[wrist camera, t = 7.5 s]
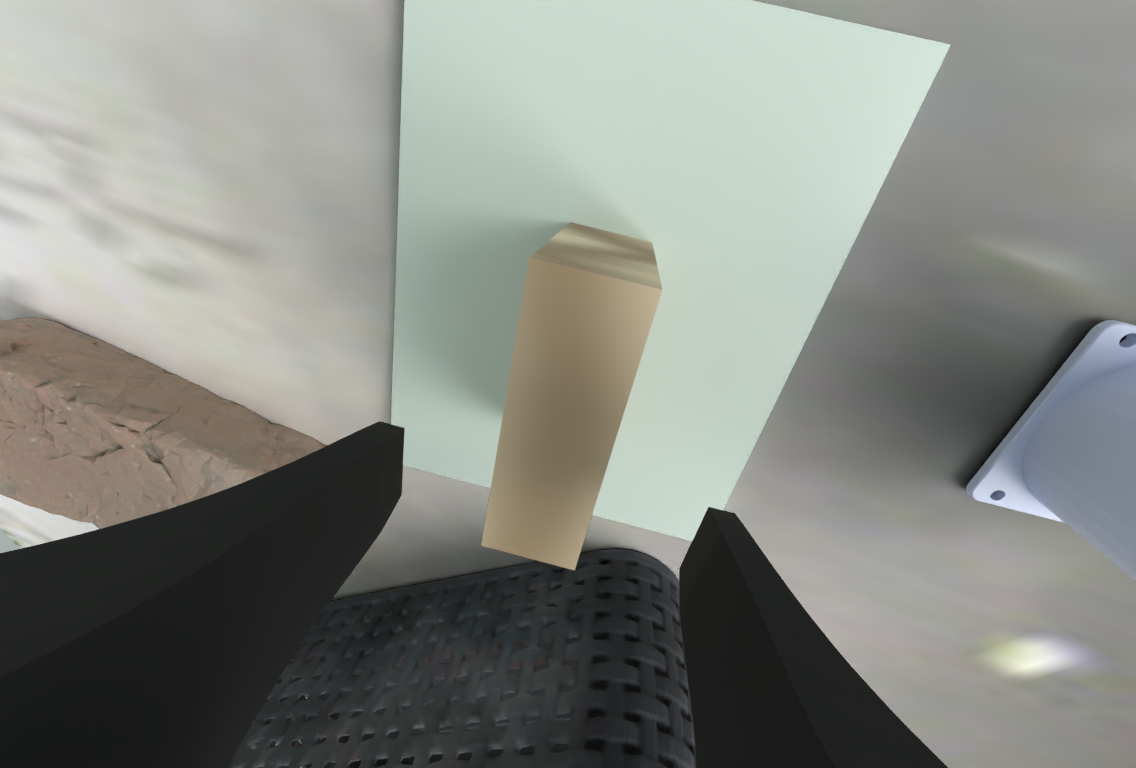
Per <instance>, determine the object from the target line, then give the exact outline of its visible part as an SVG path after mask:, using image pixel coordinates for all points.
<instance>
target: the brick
mask: <svg viewBox="0 0 1136 768" xmlns="http://www.w3.org/2000/svg"><path fill="white" fill-rule="evenodd" d="M324 447H326V446H325V445H323V444H321V443H320V442H318V441H317V440H315V439H314V438H311V437H309V436H307V435H304V434H302V433H300V432H297V431H295V430H293V429H290V428H288V427H285V426H281V425H276V424H271V423H270V421H268V420H266V419H264V418H262V417H261V416H259V415H258V414H256V413H254V412H253V411H251V410H249V409H247V408H246V407H244V406H242V405H237V404H235V403H233V402H232V401H229V400H226V399H223V398H220V397H218V396H217V395H214V394H212V393H211V392H210V391H208V390H207V389H205V388H204V387H201V386H199V385H196V384H194V383H191V382H189V381H187V380H185V379H183V378H181V377H179V376H177V375H173V374H168V373H166V372H165V371H164V370H163V369H162V368H160V367H158V366H156V365H154V364H152V363H150V362H147V361H145V360H143V359H140V358H138V357H135V356H134V355H132V354H130V353H128V352H126V351H124V350H121V349H119V348H117V347H115V346H112V345H110V344H108V343H106V342H104V341H102V340H100V339H97V338H94V337H90V336H88V335H86V334H84V333H82V332H78V331H75V330H71V329H69V328H67V327H65V326H64V325H62V324H59V323H56V322H53V321H50V320H47V319H38V318H18V319H14V320H6V321H1V322H0V494H1V495H4V496H7V497H9V498H12V499H14V500H17V501H20V502H22V503H23V504H26V505H30V506H33V507H36V508H40V509H42V510H45V511H47V512H49V513H51V514H57V515H62V516H65V517H67V518H70V519H73V520H77V521H81V522H90V523H93V524H95V525H96V526H97V527H98V528H99V529H102V528H105V527H109V526H112V525H116V524H119V523H123V522H126V521H130V520H133V519H137V518H140V517H144V516H147V515H151V514H154V513H158V512H161V511H164V510H167V509H170V508H173V507H176V506H179V505H182V504H185V503H188V502H191V501H194V500H197V499H200V498H203V497H206V496H209V495H211V494H214V493H217V492H220V491H222V490H225V489H228V488H230V487H233V486H236V485H238V484H241V483H243V482H245V481H248V480H250V479H253V478H255V477H257V476H260V475H262V474H265V473H267V472H269V471H272V470H274V469H277V468H279V467H281V466H284V465H286V464H289V463H291V462H293V461H295V460H298V459H300V458H302V457H304V456H306V455H308V454H311V453H313V452H315V451H317V450H319V449H321V448H324Z"/></svg>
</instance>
